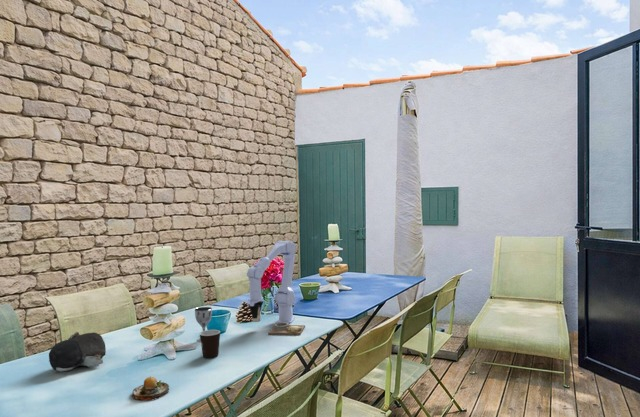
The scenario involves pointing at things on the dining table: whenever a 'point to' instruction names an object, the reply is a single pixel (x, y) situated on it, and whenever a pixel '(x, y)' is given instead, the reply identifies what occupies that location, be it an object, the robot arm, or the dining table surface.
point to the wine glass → (203, 317)
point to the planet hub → (257, 317)
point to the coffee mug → (210, 343)
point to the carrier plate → (286, 329)
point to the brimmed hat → (150, 389)
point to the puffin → (78, 352)
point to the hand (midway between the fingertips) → (256, 317)
